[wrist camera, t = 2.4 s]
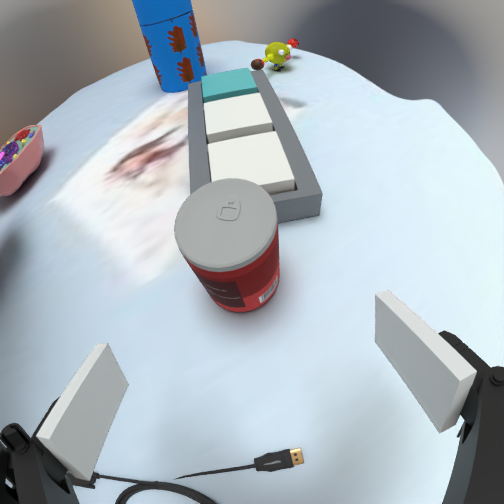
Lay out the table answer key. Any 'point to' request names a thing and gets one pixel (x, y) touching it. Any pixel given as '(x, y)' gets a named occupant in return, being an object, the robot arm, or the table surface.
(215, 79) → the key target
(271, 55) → the toy figure
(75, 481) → the cable
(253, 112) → the key middle
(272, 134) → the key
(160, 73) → the thermos
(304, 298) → the table surface
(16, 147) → the cell model
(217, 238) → the canned food
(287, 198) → the keypad frame
